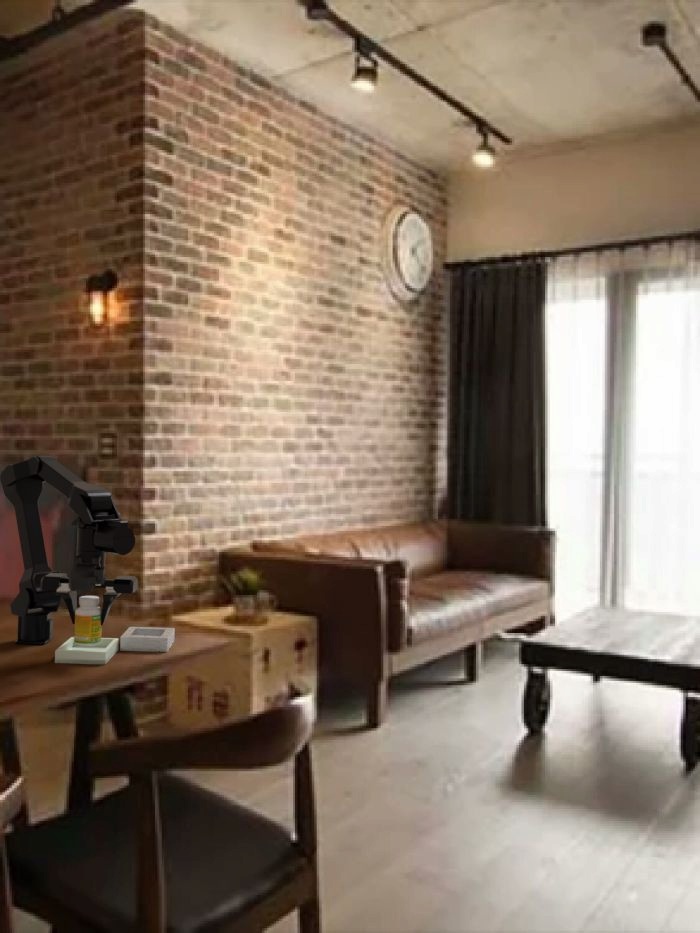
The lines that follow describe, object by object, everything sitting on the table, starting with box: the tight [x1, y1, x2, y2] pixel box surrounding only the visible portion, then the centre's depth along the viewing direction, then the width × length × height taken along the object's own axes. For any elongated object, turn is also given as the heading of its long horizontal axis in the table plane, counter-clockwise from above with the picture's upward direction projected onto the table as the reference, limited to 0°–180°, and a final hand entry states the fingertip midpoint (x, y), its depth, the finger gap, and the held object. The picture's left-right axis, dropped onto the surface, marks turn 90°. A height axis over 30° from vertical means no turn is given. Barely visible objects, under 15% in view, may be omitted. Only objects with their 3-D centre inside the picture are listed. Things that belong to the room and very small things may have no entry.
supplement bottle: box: [73, 595, 103, 646], centre depth 180 cm, size 5×5×10 cm
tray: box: [54, 636, 120, 665], centre depth 180 cm, size 10×12×2 cm
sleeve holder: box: [119, 626, 176, 653], centre depth 191 cm, size 10×10×3 cm
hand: (88, 624), depth 180 cm, fingers closed on supplement bottle, 5 cm apart
